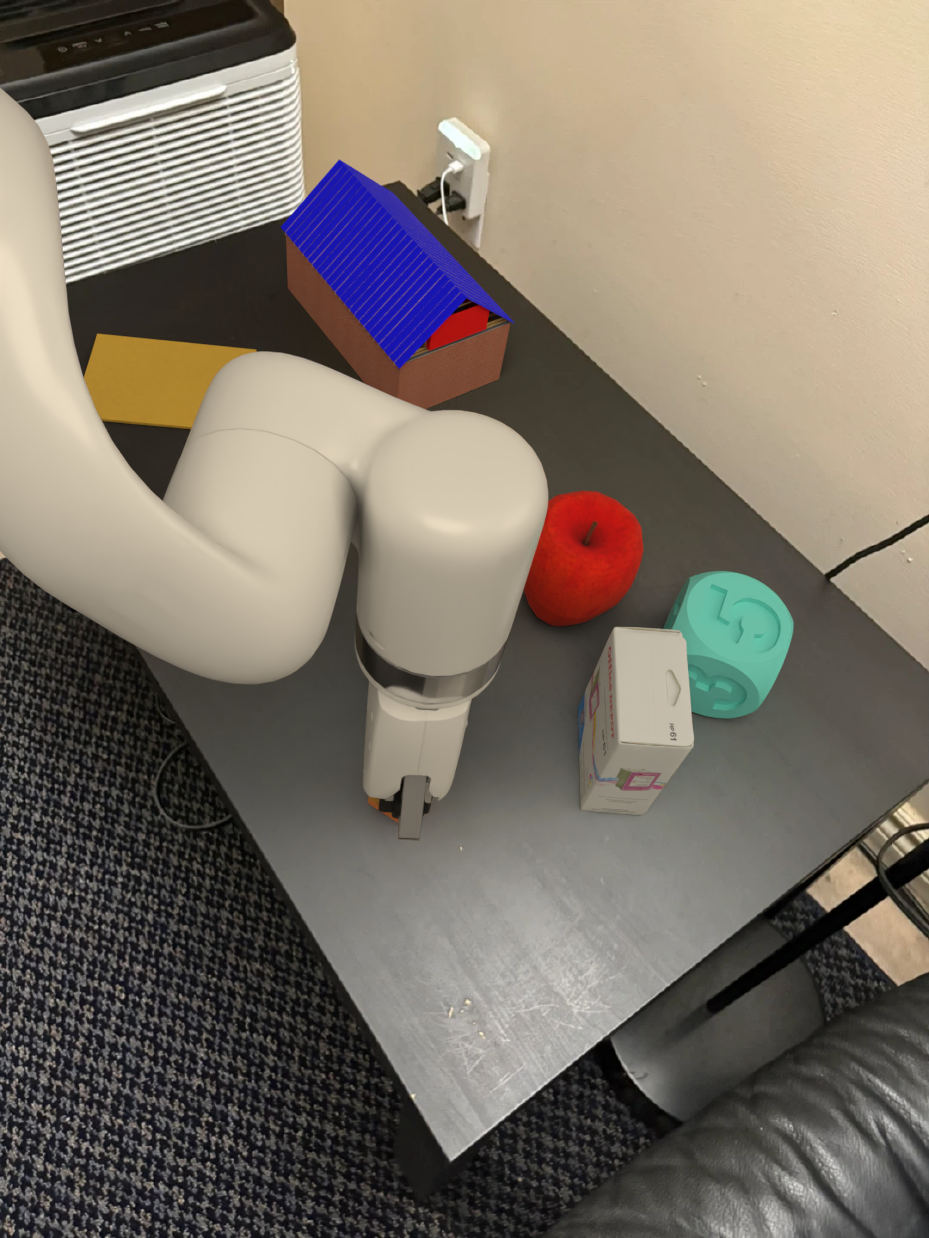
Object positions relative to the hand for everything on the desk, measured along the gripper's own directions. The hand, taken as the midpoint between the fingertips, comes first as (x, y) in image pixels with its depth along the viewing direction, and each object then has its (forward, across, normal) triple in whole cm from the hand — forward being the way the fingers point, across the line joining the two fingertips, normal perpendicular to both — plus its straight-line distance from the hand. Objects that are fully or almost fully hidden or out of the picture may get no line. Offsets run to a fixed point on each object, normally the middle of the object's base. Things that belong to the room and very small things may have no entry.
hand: (405, 772), depth 63 cm
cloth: (+5, -37, -22) cm, 43 cm away
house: (+5, -46, -3) cm, 47 cm away
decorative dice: (+5, -12, +23) cm, 26 cm away
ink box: (+5, -4, +15) cm, 16 cm away
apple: (+5, -17, +12) cm, 21 cm away
